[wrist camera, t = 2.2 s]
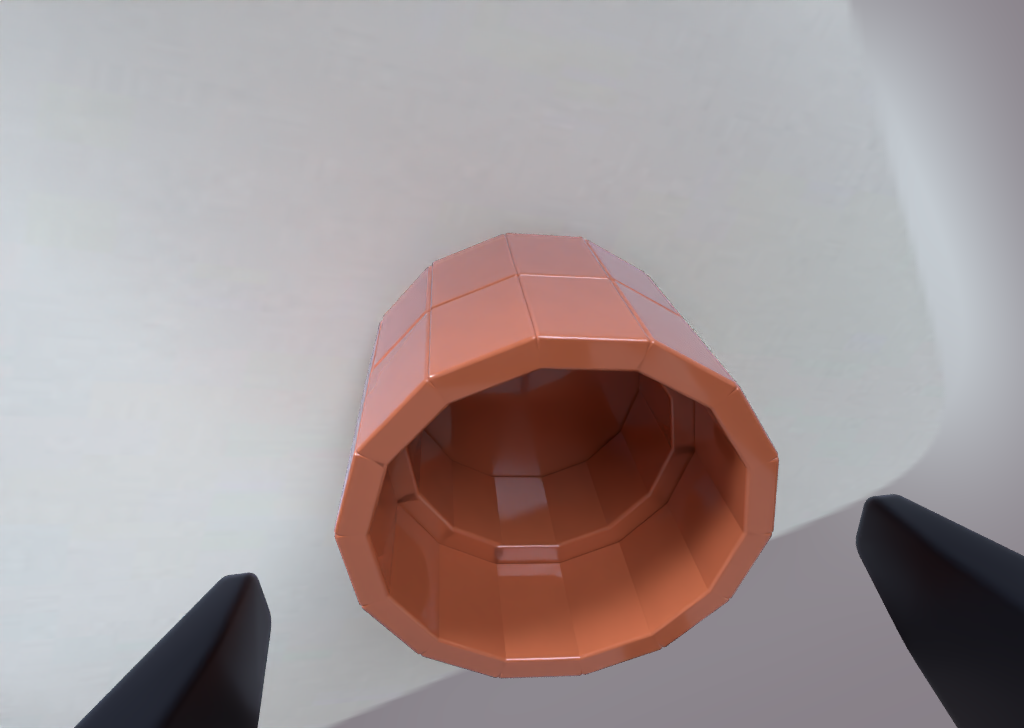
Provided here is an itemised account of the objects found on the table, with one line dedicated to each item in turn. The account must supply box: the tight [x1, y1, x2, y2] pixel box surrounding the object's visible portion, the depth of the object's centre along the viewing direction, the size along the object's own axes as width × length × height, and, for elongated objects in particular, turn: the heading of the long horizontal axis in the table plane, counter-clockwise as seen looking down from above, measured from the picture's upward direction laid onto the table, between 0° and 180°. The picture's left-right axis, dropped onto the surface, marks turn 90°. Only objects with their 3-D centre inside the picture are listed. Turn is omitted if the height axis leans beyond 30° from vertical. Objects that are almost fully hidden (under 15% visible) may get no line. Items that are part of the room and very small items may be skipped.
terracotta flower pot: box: [334, 233, 779, 678], centre depth 12 cm, size 7×7×5 cm
